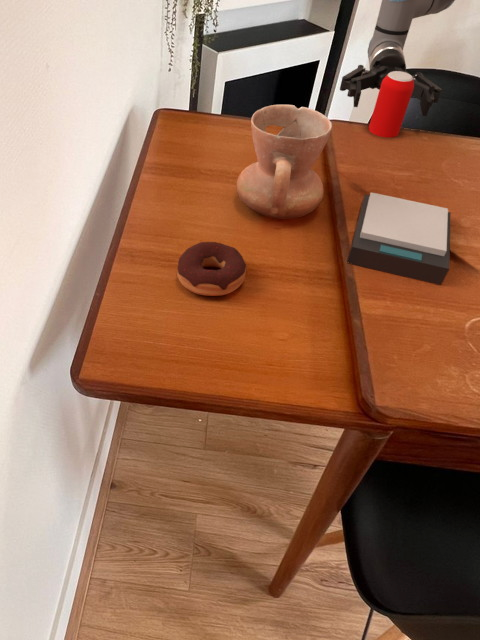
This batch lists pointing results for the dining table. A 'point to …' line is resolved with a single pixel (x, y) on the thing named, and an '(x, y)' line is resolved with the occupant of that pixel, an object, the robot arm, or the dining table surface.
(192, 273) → the donut
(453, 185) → the dining table surface
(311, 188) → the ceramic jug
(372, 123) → the beverage can
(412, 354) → the dining table surface
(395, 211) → the kitchen scale
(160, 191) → the dining table surface
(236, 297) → the dining table surface
